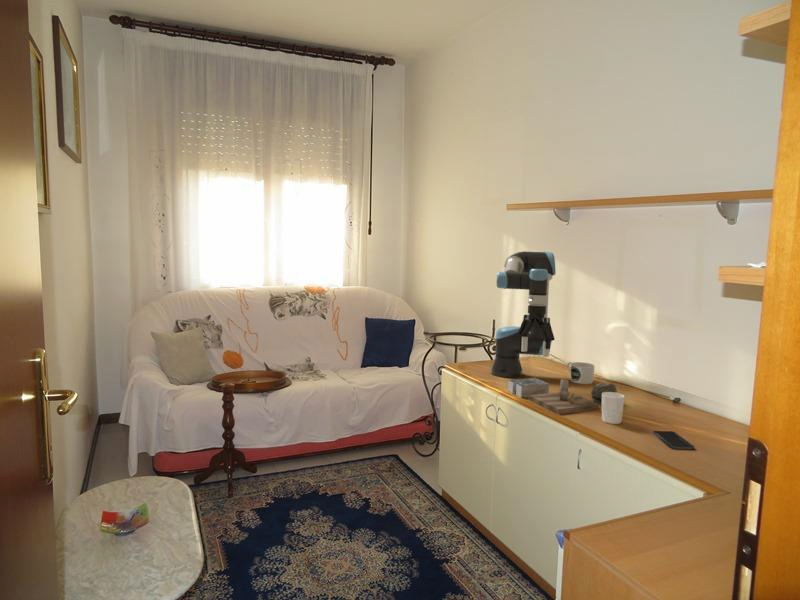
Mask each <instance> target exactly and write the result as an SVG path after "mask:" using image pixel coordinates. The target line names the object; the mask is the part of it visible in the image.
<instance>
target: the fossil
mask: <svg viewBox="0 0 800 600" xmlns="http://www.w3.org/2000/svg"><path fill="white" fill-rule="evenodd" d="M604 392H615V393H618V389H617V386H616V384H614V383H611V382H609V383H607V382H603V381H602V382H599V383H598V384H596V385H595V386H593V387H592V389H591V391H590V394H591V399H592V401H593V402H596V403H598V404H600V405H602V393H604Z"/></svg>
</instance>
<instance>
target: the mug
mask: <svg viewBox="0 0 800 600" xmlns="http://www.w3.org/2000/svg"><path fill="white" fill-rule="evenodd" d="M566 367H567V370H568V372H569V373H570V382H573V383H575V384H579V385H591V384H592V383H594V372H595V365H594V364H592V363H589V362H582V361H581V362H580V361H577V362H576V361H574V362H572V361H569V362H568V363H567V365H566Z"/></svg>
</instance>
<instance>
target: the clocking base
mask: <svg viewBox="0 0 800 600" xmlns="http://www.w3.org/2000/svg"><path fill="white" fill-rule="evenodd" d="M559 385H560V387H559V391H558V392H550V393H548V394H539V395H530V396H529V397H528V401H529V400H530V402H531V401H532V403H533V402H534V404H535V403H536V405H538V406H540V407H541V408H544V409H546V410H548V411H551V412H552V413H555V414H556V415H564V414H569V413H577V412H587V411H595V410H600V405H601V404H598V403H596V402H595V401H594V400H590V399H588V398H586V397H583V396H581V395H578V394H576V393H574V392H571V391H569V380H568V379H560V384H559Z"/></svg>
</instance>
